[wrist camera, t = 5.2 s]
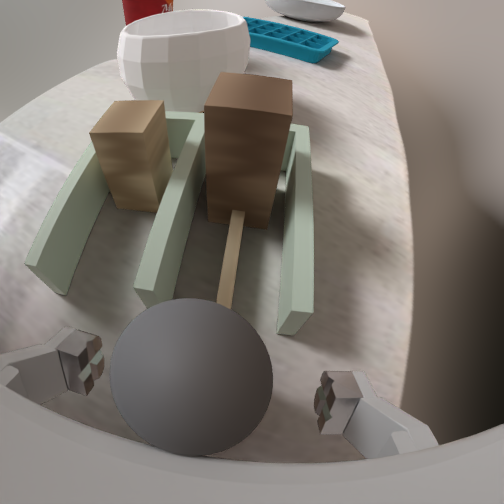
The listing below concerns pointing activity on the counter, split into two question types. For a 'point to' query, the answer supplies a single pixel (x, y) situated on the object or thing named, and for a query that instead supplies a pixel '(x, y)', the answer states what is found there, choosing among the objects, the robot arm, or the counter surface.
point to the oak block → (134, 153)
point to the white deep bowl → (181, 55)
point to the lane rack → (180, 222)
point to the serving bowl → (308, 9)
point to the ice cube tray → (289, 40)
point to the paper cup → (145, 8)
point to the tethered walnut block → (217, 314)
